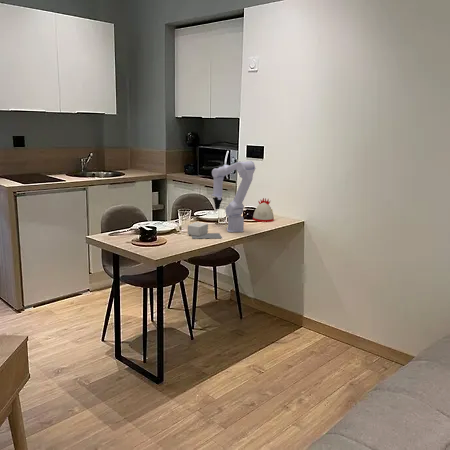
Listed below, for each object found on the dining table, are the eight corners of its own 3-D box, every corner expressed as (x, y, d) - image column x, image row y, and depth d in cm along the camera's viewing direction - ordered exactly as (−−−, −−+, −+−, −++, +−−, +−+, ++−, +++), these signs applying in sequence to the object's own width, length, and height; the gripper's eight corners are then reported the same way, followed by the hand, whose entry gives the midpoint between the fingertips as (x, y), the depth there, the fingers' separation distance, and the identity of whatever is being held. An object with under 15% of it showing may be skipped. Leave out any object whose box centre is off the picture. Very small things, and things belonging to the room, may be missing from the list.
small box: (196, 230, 284) (187, 234, 275) (196, 221, 282) (187, 225, 273) (208, 232, 280) (199, 236, 271) (208, 223, 279) (199, 227, 270)
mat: (219, 233, 280) (219, 233, 280) (222, 238, 270) (222, 237, 270) (190, 234, 277) (190, 233, 277) (192, 239, 267) (192, 238, 267)
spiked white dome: (271, 223, 312) (272, 200, 308) (250, 221, 315) (252, 198, 312) (275, 218, 325) (276, 197, 321) (255, 216, 328) (256, 195, 325)
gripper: (209, 185, 301) (209, 206, 304) (213, 189, 287) (212, 211, 290) (220, 185, 302) (220, 206, 306) (224, 189, 288) (224, 211, 292)
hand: (217, 209), depth 298 cm, fingers closed
